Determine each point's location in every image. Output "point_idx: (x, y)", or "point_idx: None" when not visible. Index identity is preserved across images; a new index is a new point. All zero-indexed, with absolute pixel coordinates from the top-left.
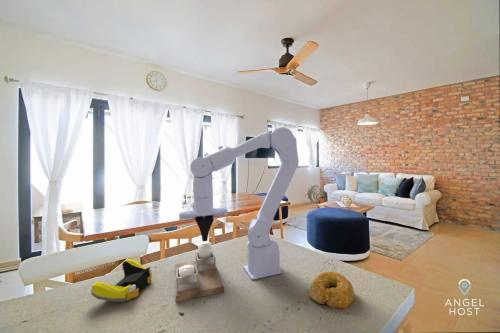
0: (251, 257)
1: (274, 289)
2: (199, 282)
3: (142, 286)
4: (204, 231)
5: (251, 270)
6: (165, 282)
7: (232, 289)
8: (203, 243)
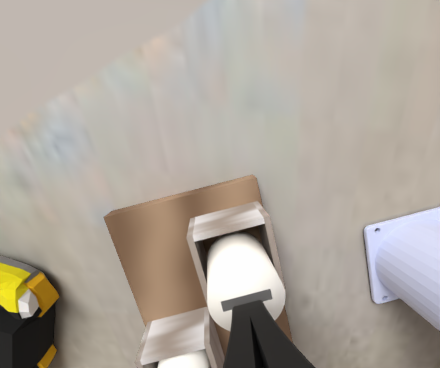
0: (435, 327)
1: (416, 339)
2: (223, 336)
3: (47, 334)
4: (264, 358)
5: (390, 289)
6: (109, 288)
7: (311, 333)
8: (237, 286)
